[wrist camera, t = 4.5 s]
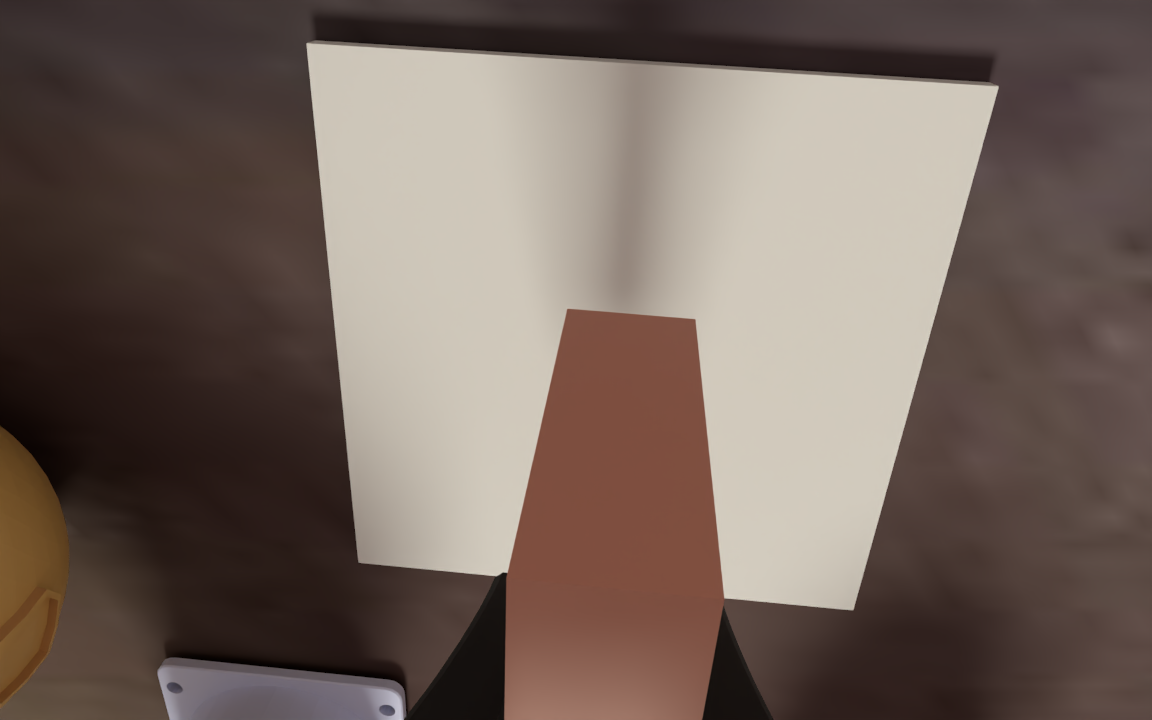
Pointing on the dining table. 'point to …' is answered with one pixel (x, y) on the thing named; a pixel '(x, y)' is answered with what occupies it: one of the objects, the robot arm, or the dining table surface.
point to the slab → (616, 532)
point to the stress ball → (28, 565)
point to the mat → (634, 282)
